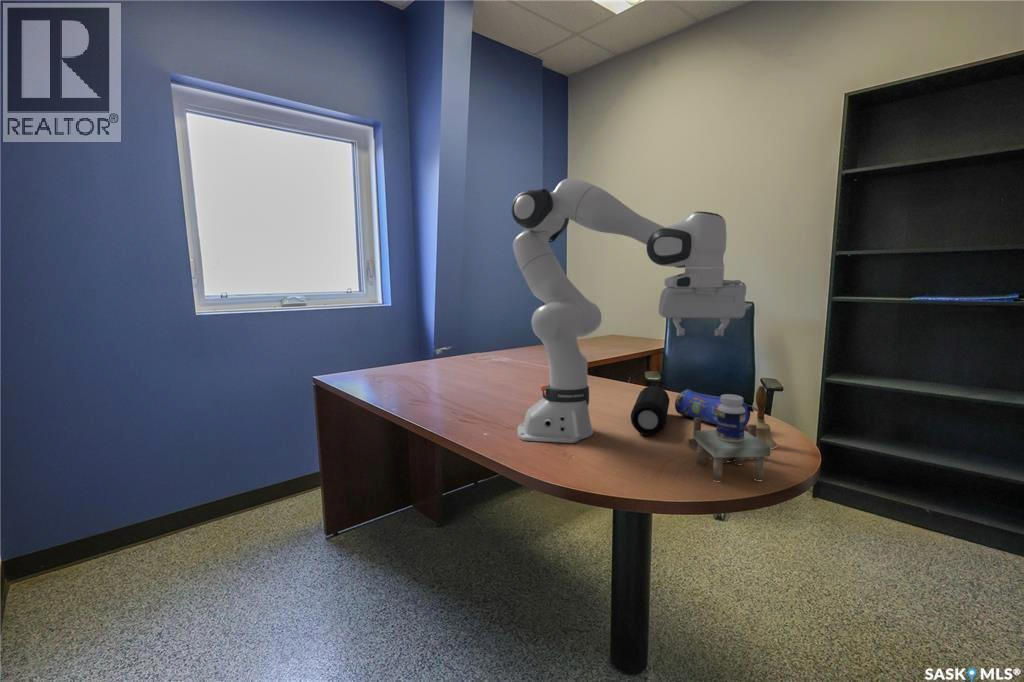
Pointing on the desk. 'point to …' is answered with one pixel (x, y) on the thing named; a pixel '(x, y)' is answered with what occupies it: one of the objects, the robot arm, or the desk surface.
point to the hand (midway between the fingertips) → (699, 335)
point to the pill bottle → (731, 418)
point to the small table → (730, 451)
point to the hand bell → (761, 427)
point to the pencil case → (702, 406)
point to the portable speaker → (650, 411)
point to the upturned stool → (694, 445)
